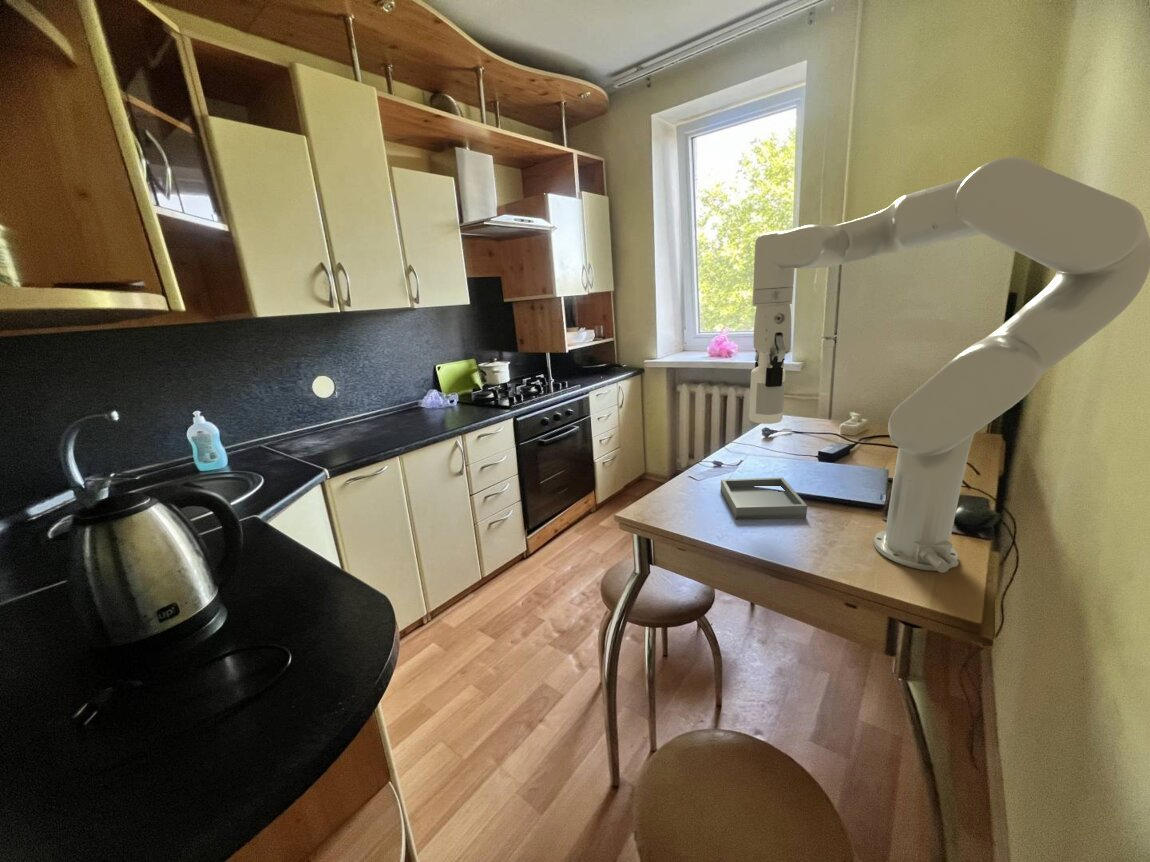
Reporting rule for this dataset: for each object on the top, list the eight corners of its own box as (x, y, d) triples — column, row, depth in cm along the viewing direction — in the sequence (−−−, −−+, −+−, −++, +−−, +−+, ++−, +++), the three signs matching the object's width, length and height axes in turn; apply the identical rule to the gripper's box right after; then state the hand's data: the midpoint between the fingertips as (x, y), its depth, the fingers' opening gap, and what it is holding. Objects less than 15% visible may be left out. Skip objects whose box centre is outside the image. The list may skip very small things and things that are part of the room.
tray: (806, 518, 98) (807, 505, 97) (735, 519, 100) (736, 507, 99) (781, 488, 113) (782, 477, 112) (720, 490, 114) (721, 479, 113)
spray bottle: (768, 426, 95) (773, 341, 90) (742, 419, 101) (745, 339, 96) (789, 419, 99) (794, 337, 93) (762, 414, 104) (766, 335, 99)
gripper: (808, 297, 83) (801, 390, 89) (776, 295, 100) (772, 374, 105) (767, 300, 84) (762, 392, 90) (742, 297, 101) (739, 376, 106)
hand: (767, 382), depth 97 cm, fingers closed on spray bottle, 6 cm apart
